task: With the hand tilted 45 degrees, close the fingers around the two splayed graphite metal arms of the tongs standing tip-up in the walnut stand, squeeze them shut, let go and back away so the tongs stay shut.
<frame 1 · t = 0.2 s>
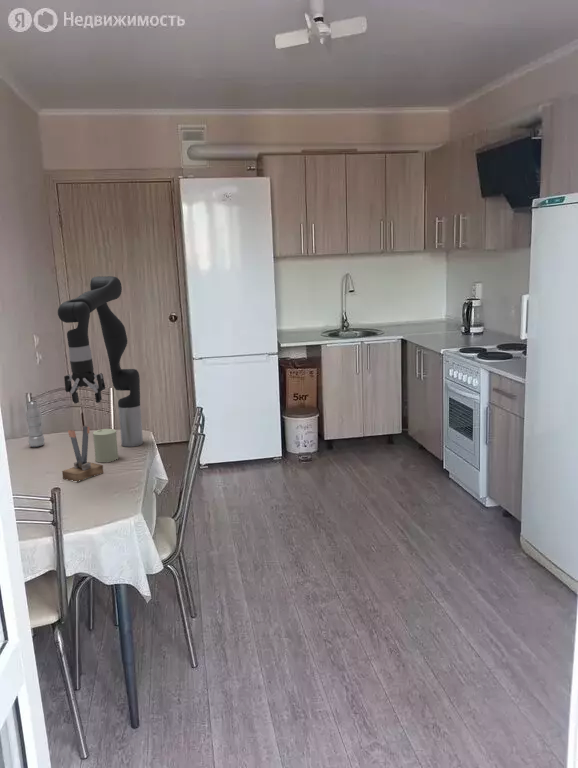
hand: (87, 402, 225), 29 cm above the table, tool pointing down, fingers open, 8 cm apart
plastic bottle: (37, 446, 274), on the table
tongs stand: (83, 475, 233), on the table
can: (107, 459, 253), on the table
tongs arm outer: (76, 449, 230), point 11 cm above the table, hinge at 10.0°
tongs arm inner: (85, 446, 233), point 11 cm above the table, hinge at 10.0°
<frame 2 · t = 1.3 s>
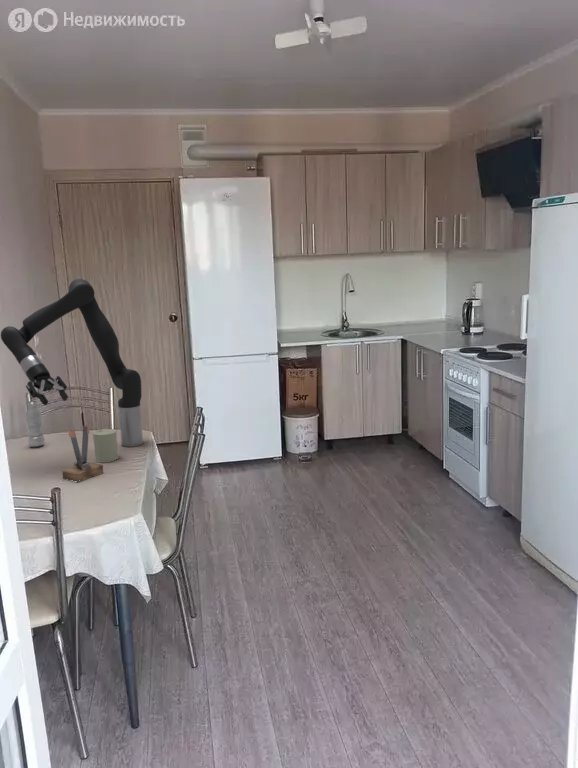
hand: (56, 401, 234), 27 cm above the table, tool tilted 45°, fingers open, 8 cm apart
nothing on the table moved.
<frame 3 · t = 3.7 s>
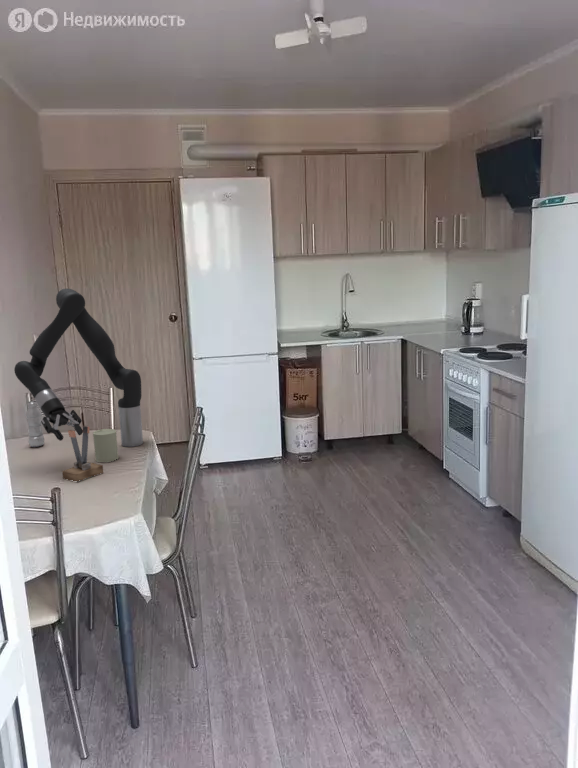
hand: (71, 436, 233), 15 cm above the table, tool tilted 45°, fingers open, 8 cm apart
nothing on the table moved.
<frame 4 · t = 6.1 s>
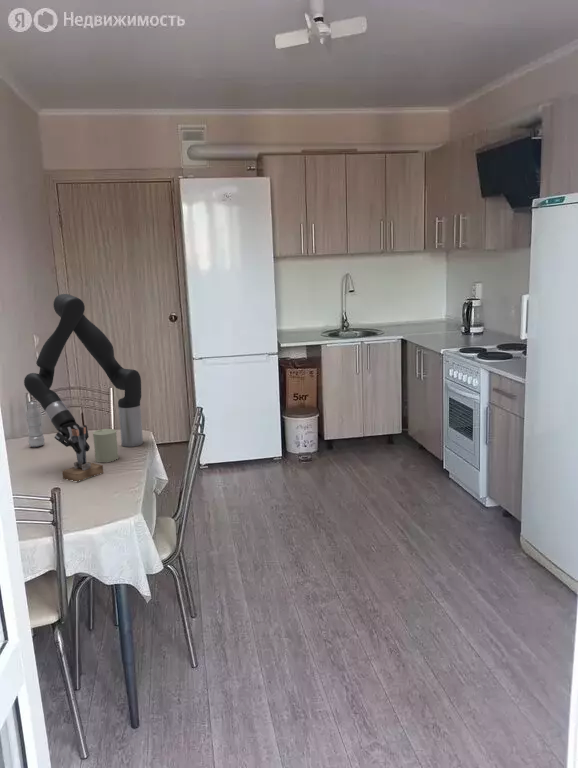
hand: (84, 451, 230), 10 cm above the table, tool tilted 45°, fingers open, 3 cm apart
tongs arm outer: (77, 448, 230), point 11 cm above the table, hinge at 3.8°, touching gripper
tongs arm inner: (83, 446, 232), point 11 cm above the table, hinge at 3.1°, touching gripper
everything else where it was.
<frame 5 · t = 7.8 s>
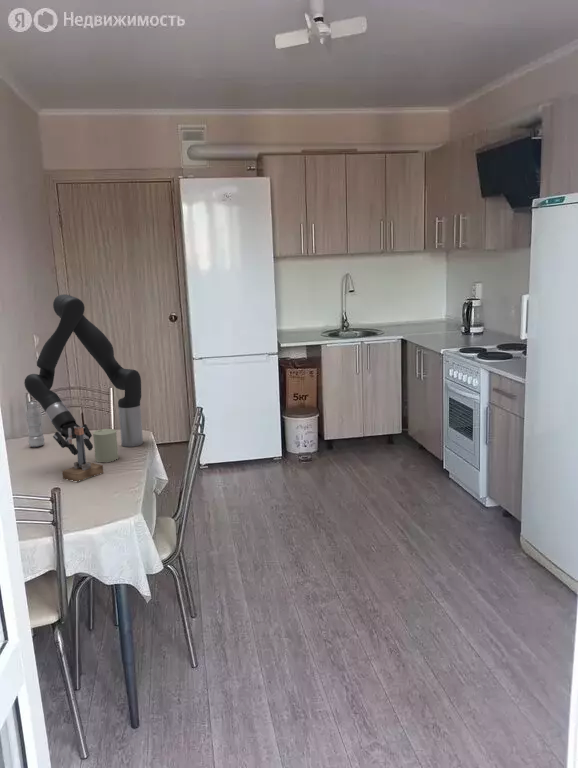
hand: (83, 451, 230), 10 cm above the table, tool tilted 45°, fingers open, 6 cm apart
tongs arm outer: (79, 447, 231), point 11 cm above the table, hinge at -1.0°
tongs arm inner: (82, 447, 232), point 11 cm above the table, hinge at -1.1°
everything else where it was.
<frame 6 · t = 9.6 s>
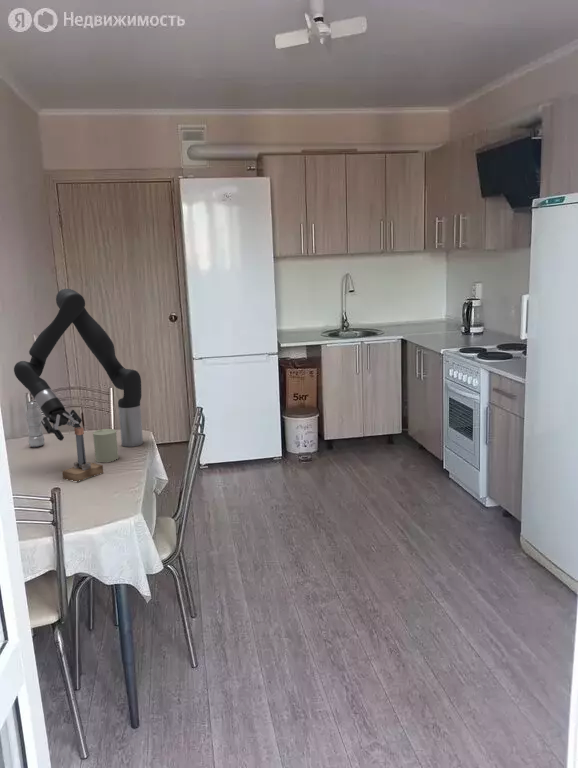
hand: (72, 436, 233), 15 cm above the table, tool tilted 45°, fingers open, 8 cm apart
nothing on the table moved.
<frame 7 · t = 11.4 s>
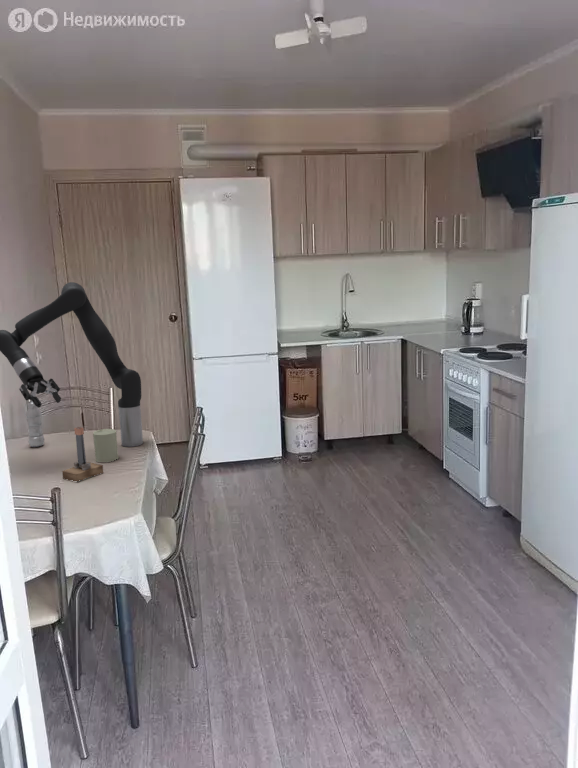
hand: (49, 403, 237), 26 cm above the table, tool tilted 45°, fingers open, 8 cm apart
nothing on the table moved.
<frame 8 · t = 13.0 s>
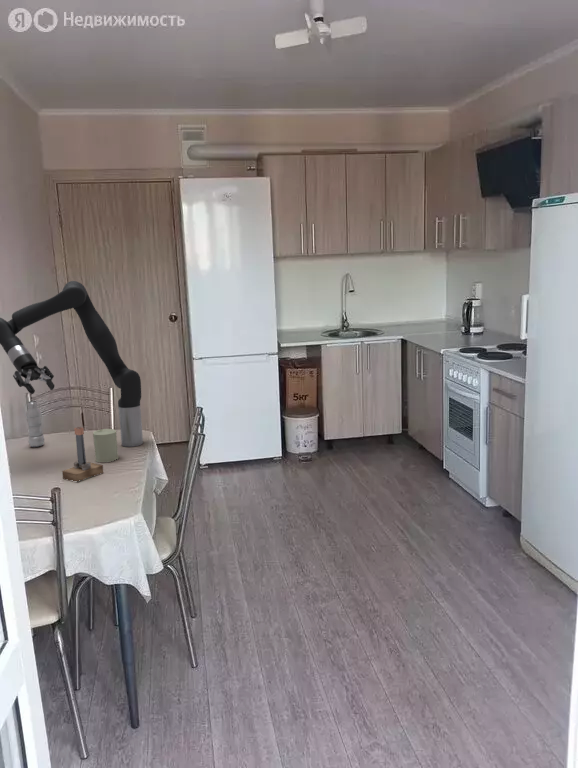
hand: (43, 390, 239), 31 cm above the table, tool tilted 45°, fingers open, 8 cm apart
nothing on the table moved.
at the end: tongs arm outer at -1° (first picture: +10°); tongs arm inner at -1° (first picture: +10°) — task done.
